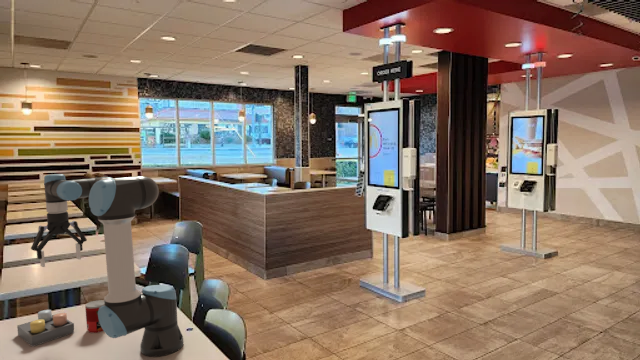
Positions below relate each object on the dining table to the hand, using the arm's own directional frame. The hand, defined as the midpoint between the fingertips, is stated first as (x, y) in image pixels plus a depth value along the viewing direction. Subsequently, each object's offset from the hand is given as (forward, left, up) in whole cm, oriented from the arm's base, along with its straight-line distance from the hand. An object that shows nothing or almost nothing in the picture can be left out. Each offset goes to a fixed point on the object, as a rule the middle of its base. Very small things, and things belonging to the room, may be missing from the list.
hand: (61, 262), depth 184 cm
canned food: (-14, -7, -28) cm, 32 cm away
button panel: (-1, +8, -28) cm, 29 cm away
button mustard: (-6, +12, -24) cm, 27 cm away
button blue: (+3, +7, -24) cm, 25 cm away
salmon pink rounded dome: (-6, +4, -24) cm, 24 cm away
